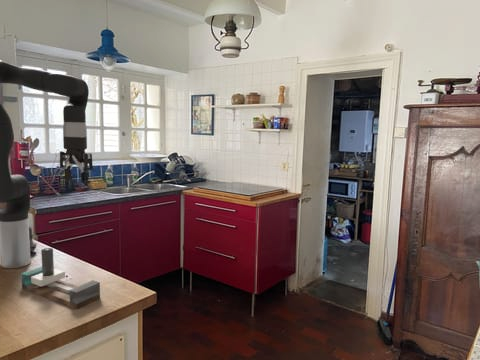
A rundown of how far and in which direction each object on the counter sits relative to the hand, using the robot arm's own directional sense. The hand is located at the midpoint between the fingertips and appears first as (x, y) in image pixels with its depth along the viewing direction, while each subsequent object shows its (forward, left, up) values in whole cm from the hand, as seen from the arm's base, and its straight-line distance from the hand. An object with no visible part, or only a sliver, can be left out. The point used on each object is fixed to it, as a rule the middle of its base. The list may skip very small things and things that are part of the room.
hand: (76, 181), depth 129 cm
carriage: (+8, -17, -29) cm, 34 cm away
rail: (+13, -17, -32) cm, 38 cm away
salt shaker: (-29, -1, -32) cm, 43 cm away
